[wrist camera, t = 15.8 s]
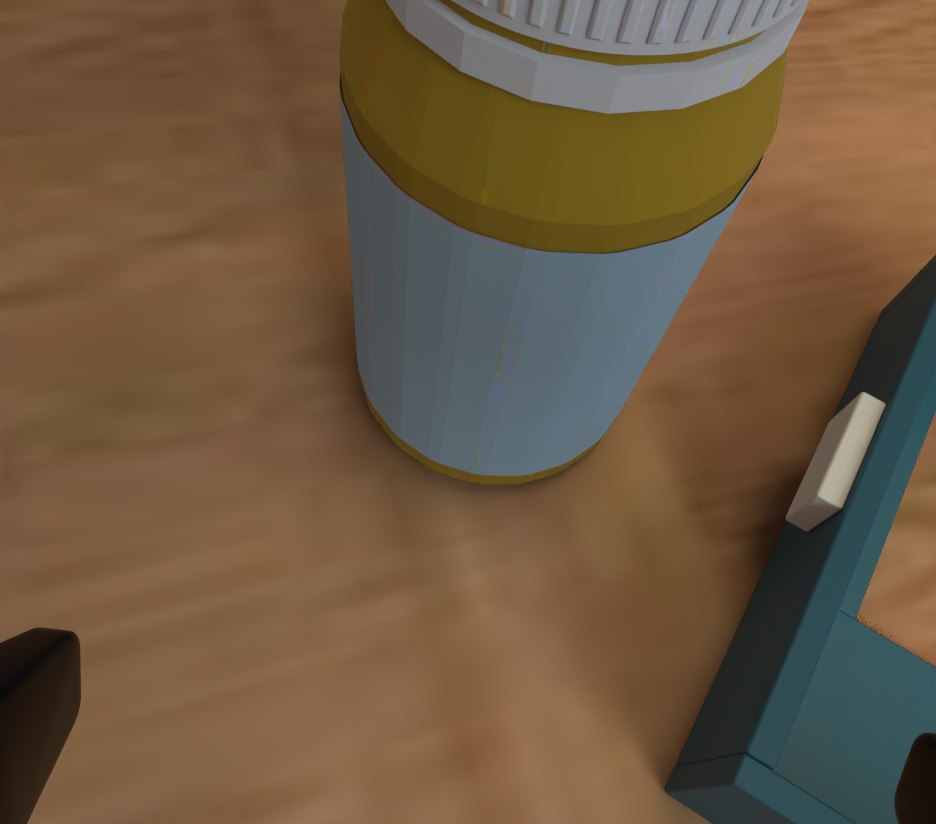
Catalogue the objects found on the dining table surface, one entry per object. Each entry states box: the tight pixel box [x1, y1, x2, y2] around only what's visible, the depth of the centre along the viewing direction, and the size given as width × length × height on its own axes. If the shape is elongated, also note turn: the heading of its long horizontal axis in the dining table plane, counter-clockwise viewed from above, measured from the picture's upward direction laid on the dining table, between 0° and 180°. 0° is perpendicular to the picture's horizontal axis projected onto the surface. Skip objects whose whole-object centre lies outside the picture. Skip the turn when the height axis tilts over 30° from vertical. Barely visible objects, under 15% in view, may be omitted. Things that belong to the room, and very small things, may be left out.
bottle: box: [340, 0, 809, 484], centre depth 15 cm, size 7×7×15 cm
